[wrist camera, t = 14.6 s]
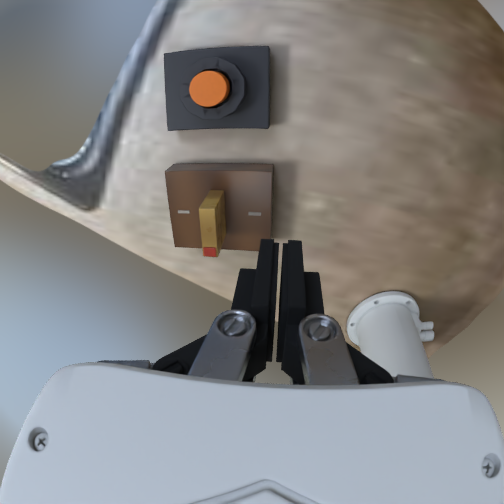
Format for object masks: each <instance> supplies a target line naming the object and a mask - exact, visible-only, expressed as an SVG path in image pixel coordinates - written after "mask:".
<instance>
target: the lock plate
mask: <svg viewBox="0 0 504 504" xmlns="http://www.w3.org/2000/svg"><path fill="white" fill-rule="evenodd" d="M165 178H166V186H167V195H168V202H169V210H170V217H171V224H172V231H173V238H174V244H175V247H187V248H202V238H201V228H200V217H199V208H200V206H201V204H202V203H203V201H204V199H205V198H206V196H207V195H208V193H209V191H210V190H224V196H225V220H226V236H225V238H224V241H223V244H222V247H221V249H227V250H247V251H259V248H260V241H261V239H271V231H272V198H273V164H245V163H195V164H173V165H172V166H171V167H169V168H168V169H167V170H166V171H165Z"/></svg>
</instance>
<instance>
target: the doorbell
mask: <svg viewBox="0 0 504 504" xmlns="http://www.w3.org/2000/svg"><path fill="white" fill-rule="evenodd" d="M203 71H216V72H219V73H221V74H223V75H224V76H225V77H226V78H227V79H228V81H229V85H230V91H229V94H228V96H227V98H226V99H225V100H224V101H223V102H221V103H220V104H217V105H214V106H211V107H204V106H201V105H198V104H197V103H195V102H194V101H193V99H192V98H191V96H190V92H189V87H190V83H191V81H192V79H193V78H194V77H195V76H196V75H197V74H199V73H201V72H203ZM164 72H165V94H166V112H167V126H168V131H174V130H191V129H220V128H261V129H268V128H269V125H270V48H269V46H241V47H220V48H207V49H196V50H187V51H179V52H172V53H165V54H164Z"/></svg>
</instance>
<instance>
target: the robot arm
mask: <svg viewBox="0 0 504 504" xmlns="http://www.w3.org/2000/svg"><path fill="white" fill-rule="evenodd" d="M278 252H279V243H274V239H261V241H260V248H259V255H258V262H257V268H256V269H243V268H241V269H240V272H239V276H238V281H237V285H236V289H235V294H234V298H233V303H232V307H231V310H227V311H225V312H222V313H221V314H219V315H218V316H217V317H216V318H215V320H214V322H213V324H212V326H211V328H210V330H209V332H208V334H207V335H205V336H203V337H201V338H199V339H197V340H195V341H193V342H191V343H190V344H188V345H186V346H184V347H182V348H180V349H178V350H176V351H174V352H172V353H170V354H168V355H166V356H164V357H162V358H161V359H159V360H158V361H157V362H156V363H150V361H149V360H136V361H106V360H104V361H98V362H95V363H94V362H88V363H79V364H73V365H69V366H66V367H63V368H61V369H60V370H58V371H57V372H56V373H55V374H53V375H52V377H51V378H50V379H49V380H48V381H47V383H46V384H45V386H44V387H43V389H42V390H41V392H40V394H39V395H38V397H37V398H36V400H35V402H34V404H33V406H32V408H31V410H30V411H29V413H28V416H27V418H26V420H25V422H24V424H23V426H22V429H21V431H20V433H19V436H18V438H17V441H16V443H15V446H14V448H13V451H12V453H11V456H10V459H9V461H8V464H7V468H6V471H5V474H4V477H3V481H2V485H1V488H0V504H504V439H503V435H502V432H501V429H500V425H499V423H498V420H497V417H496V414H495V412H494V410H493V408H492V406H491V404H490V402H489V400H488V399H487V397H486V396H485V395H484V394H483V393H482V392H481V391H479V390H478V389H476V388H474V387H471V386H468V385H465V384H461V383H456V382H447V381H444V380H441V379H434V377H433V374H432V371H431V367H430V365H429V361H428V358H427V355H426V352H425V350H424V347H423V344H422V341H432V340H433V339H434V331H433V330H431V329H433V322H432V321H429V322H421V321H420V320H419V313H420V312H419V307H418V305H417V303H416V301H415V300H414V298H413V297H411V296H410V295H408V294H406V293H403V292H398V291H389V292H383V293H379V294H376V295H373V296H371V297H369V298H367V299H366V300H364V301H362V302H361V303H360V304H359V305H358V306H356V308H355V309H354V310H353V311H352V312H351V314H350V316H349V318H348V321H347V333H348V336H349V338H350V340H351V341H352V342H353V343H355V344H356V345H358V346H360V350H361V352H359V351H358V350H356V349H355V348H353V347H352V346H351V345H349V344H348V343H346V341H345V338H344V335H343V333H342V330H341V327H340V325H339V323H338V322H337V321H336V320H335V319H334V318H332V317H330V316H328V315H324V307H323V299H322V291H321V283H320V276H319V273H318V272H304V266H303V253H302V241H298V240H288V243H283V252H282V268H281V283H280V298H279V319H278V339H277V358H276V362H282V365H281V366H282V367H281V370H283V371H284V372H285V373H286V374H288V375H289V376H290V385H289V384H287V385H286V384H268V383H255V378H256V375H257V374H258V373H260V372H262V371H263V370H264V369H266V361H269V362H272V351H273V338H274V324H275V310H276V293H277V273H278ZM423 329H424V330H423ZM421 330H423V331H421Z"/></svg>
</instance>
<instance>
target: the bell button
mask: <svg viewBox="0 0 504 504" xmlns="http://www.w3.org/2000/svg"><path fill="white" fill-rule="evenodd" d="M229 91H230V85H229V81H228V79H227V78H226V77H225V76H224V75H223V74H221V73H219V72H216V71H203V72H201V73H199V74H197V75H196V76H195V77H194V78H193V79H192V81H191V83H190V87H189V92H190V96H191V98H192V99H193V101H194V102H195V103H197V104H198V105H201V106H204V107H211V106H214V105H217V104H220V103H221V102H223V101H224V100H225V99H226V98H227V96H228V94H229Z"/></svg>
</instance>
